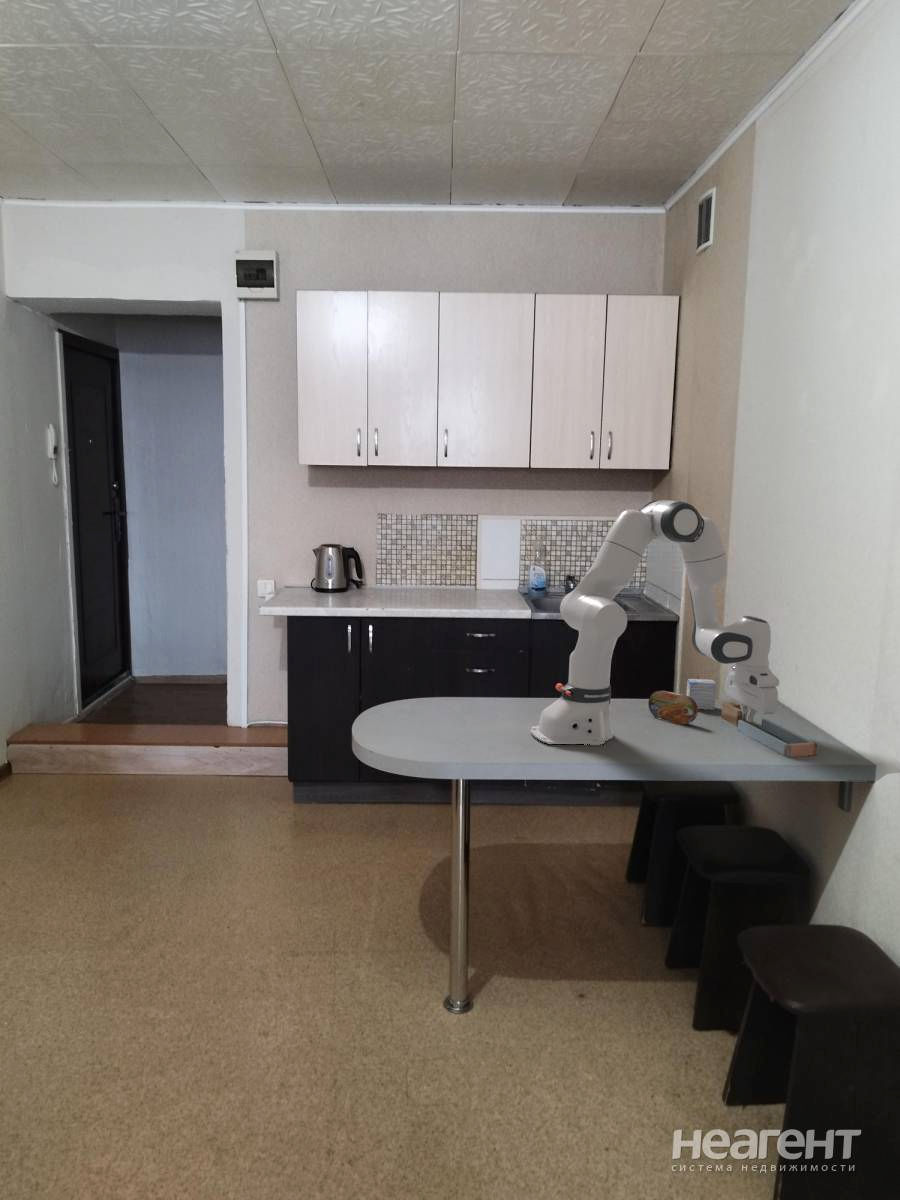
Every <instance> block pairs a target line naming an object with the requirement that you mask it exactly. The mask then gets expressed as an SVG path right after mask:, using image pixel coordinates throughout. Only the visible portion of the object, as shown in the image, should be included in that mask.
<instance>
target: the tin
mask: <svg viewBox="0 0 900 1200" xmlns="http://www.w3.org/2000/svg"><path fill="white" fill-rule="evenodd" d="M686 695H687V694H685V695H684V694H681V693H676V692H673V691H672V692H671V691H667V690H657V691H654V692H653V693H651V695H650V696H649V699H648V702H647V703H648V709H649V712H650V713H651V715H652V716H653V717H654V718H656V717H658V718H661V719H663V720H662V721H665V720H667V721H666V722H669V721H670V723H674V724H678V725H687V724H690V723H693V722H694V721H695V720H696V719H697V717H698V713H699V709H698V707H697V704H696V702H695V701H694V700H693V699H692V698H691V697H689V696H686ZM658 718H657V719H658ZM661 719H660V720H661Z"/></svg>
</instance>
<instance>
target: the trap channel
mask: <svg viewBox="0 0 900 1200" xmlns="http://www.w3.org/2000/svg"><path fill="white" fill-rule="evenodd" d="M760 724H761V726H760V727H761V729H760V728H758V727H756V726H754V725H753V724H752V725H750V724H748V723H746V722H744V721H742V720H738V726H737V731H738V732H740V733H741V734H743V735H745V736H747V737H749V738H751V739H753V740H754V739H755V740H754V741H756V740H757V742H758V741H759V742H758V743H760V744H762V745H764V746H765V745H767V746H768V748H769V747H770V748H769V749H771V748H772V749H771V750H773V749H774V750H773V751H775V752H777V753H778V752H779V754H780V753H781V755H782V754H783V756H784V757H786V758H795V757H809V756H808V755H810V756H817V750H818V749H817V748H818V743H816V742H815V741H812V740H811V739H809V738H806V737H804V736H802V735H800V734H798V733H795V732H794V731H792V730H790V729H787V728H785V727H783V726H782V725H779V724H777V723H776V722H773V721H772V720H769V719H768V718H761V723H760ZM764 730H765V731H764ZM766 731H767V732H766ZM768 732H769V733H768ZM770 733H771V734H770ZM772 734H773V735H772ZM774 735H775V736H774ZM776 736H777V737H776ZM778 737H779V738H778ZM780 738H781V739H780ZM782 739H783V740H782ZM784 740H785V741H784ZM786 741H787V742H786ZM767 746H766V747H767Z"/></svg>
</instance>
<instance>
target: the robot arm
mask: <svg viewBox="0 0 900 1200" xmlns="http://www.w3.org/2000/svg"><path fill="white" fill-rule="evenodd" d="M605 536H606V537H605V538H604V540H603V542H602V545H601V546H600V548H599V551H598V553H597V555H596V557H595V559H594V561H593V563H592V565H591V566H590V568H589V570H588V571H587V573H585V575H584V576H583V578H582V579H581V580H580V581H579V583H578V584H577V585H576V587H575V588H574V589H573V590H572V591H570V592H568V593H567V594H566V595H565V596H564V597H563V598H562V600H561V602H560V605H559V612H560V616H561V618H562V619H563V620H564V622H565V623H566V624H567V625H568V626H569V627H570V628H572V629H574V630H577V631H578V638H577V642H576V645H575V648H574V649H573V651H572V652H571V653H570V655H569V664H568V681H567V683H566V684H565V685H564V684H562V683H560V682H559V683H556V685H555V689H556V690H557V691H558V692H560V693H561V696H560V697H559V698H557V700H555V701H554V702H552V703H551V704H549V705H548V706H547V707H545V708H544V709H543V710H542V711H541V713H540V716H539V721H538V725H534V726H531V728H530V733H531V732H532V733H533V734H534V735H535V736H536V737H537V738H539V739H540V740H542V741H544V742H546V743H550V744H584V745H583V746H603V745H602V744H604V743H605V744H606V742H608V741H610V740H611V739H613V737H614V732H613V729H612V724H611V715H610V705H611V697H612V685H611V684H610V679H611V666H612V665H611V664H612V658H613V653H614V649H615V647H616V644H617V641H618V638H620V637H621V636H622V634H623V633H625V630H626V629H627V625H628V615H627V613H626V611H625V610H624V608H623V607H622V606H620V604H618V603H617V602H616V601H614V599H615V597H616V596H617V595H618V594H619V593H620V592H621V590H623V589H625V588H626V587H628V586H629V585H630V584H631V582H632V580H633V578H634V575H635V573H636V571H637V569H638V567H639V565H640V562H641V561H642V558H643V556H644V555H645V552H646V549H647V547H648V546H649V544H650V543H652V541H653V540H659V541H662V542H667V543H668V542H672V543H673V542H674V543H677V544H678V545H679V547H680V549H681V554H682V559H683V563H684V568H685V571H686V572H685V573H686V577H687V579H688V586H689V594H690V599H691V600H690V601H691V608H692V613H693V614H692V615H693V621H694V622H693V623H694V624H693V630H692V636H691V642H692V643H691V644H692V645H693V648H694V650H695V651H696V652H697V653H698V654H701V655H702V656H706V657H708V658H710V659H711V660H713V661H715V662H718V663H720V664H724V665H727V664H728V665H729V664H735V666H732V667H731V668H729V672H728V673H727V676H726V680H725V684H724V695H725V696H726V697H727V698H729V699H731V700H733V701H735V702H738V703H740V707H741V710H742V719H744V720H746V721H748V722H752V723H753V721H754V718H755V715H756V713H760V714H761V715H762V714H763V715H773V714H775V713H776V711H777V707H778V700H779V699H778V697H779V694H778V693H779V692H778V688H777V687H779V686H780V679H779V678H778V677H777V675H775V674H774V673H773V672H772V671H771V669H770V668H769V667H770V661H769V653H770V651H771V643H772V640H771V639H772V637H771V636H772V634H771V633H772V632H771V625H770V623H769V622H768V621H766V620H765V619H763V618H760V617H755V616H752V615H751V616H750V615H745V616H744V615H743V616H742V617H741V618H739V620H737V621H735V622H733V623H732V624H730V625H727V626H723V625H722V624H721V622H720V621H719V619H718V616H717V609H716V601H715V594H714V593H715V589H716V588H717V587H718V586H719V585H721V584H722V583H723V582H724V580H725V579H726V578H727V575H728V562H727V561H728V560H727V557H726V551H725V547H724V543H723V541H722V537H721V534H720V531H719V529H718V526H717V525H716V522H715V521H714V520H713V519H712V518H711V517H707V516H701V514H700V512H699V511H698V510H697V508H695V506H693V505H692V504H691V503H688V502H685V501H681V500H680V501H679V500H678V501H677V500H674V499H673V500H672V499H662V500H652V501H650V502H648V503H646V504H644V505H643V506H642V507H641V508H640V509H633V508H632V509H631V508H630V509H625V510H624V511H622V512H621V513H619V514H618V517H617V518H616V519H615V521H614V523H613V524H612V525H611V527H610V528H609V530H608V532H607V534H606V535H605ZM533 729H535V730H533ZM544 739H545V740H544ZM609 739H610V740H609ZM605 741H606V742H605ZM587 744H588V745H587ZM589 744H590V745H589ZM600 744H601V745H600ZM605 744H604V745H605Z"/></svg>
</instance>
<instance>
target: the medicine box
mask: <svg viewBox="0 0 900 1200" xmlns="http://www.w3.org/2000/svg"><path fill="white" fill-rule="evenodd" d="M686 682H687V683H686V684H687V685H686V694H685V695H686V696H689V697H691V698H692V699H693V700H694V701H695V702H696V704H697V707H698V710H700V709H702V710H703V709H704V710H706V711H715V705H716V704H715V703H716V693H717V692H716V690H717V683H716V682H715V680H713V679H705V678H704V679H703V678H688V679H687V681H686ZM708 709H709V710H708ZM704 710H703V711H704Z"/></svg>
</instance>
